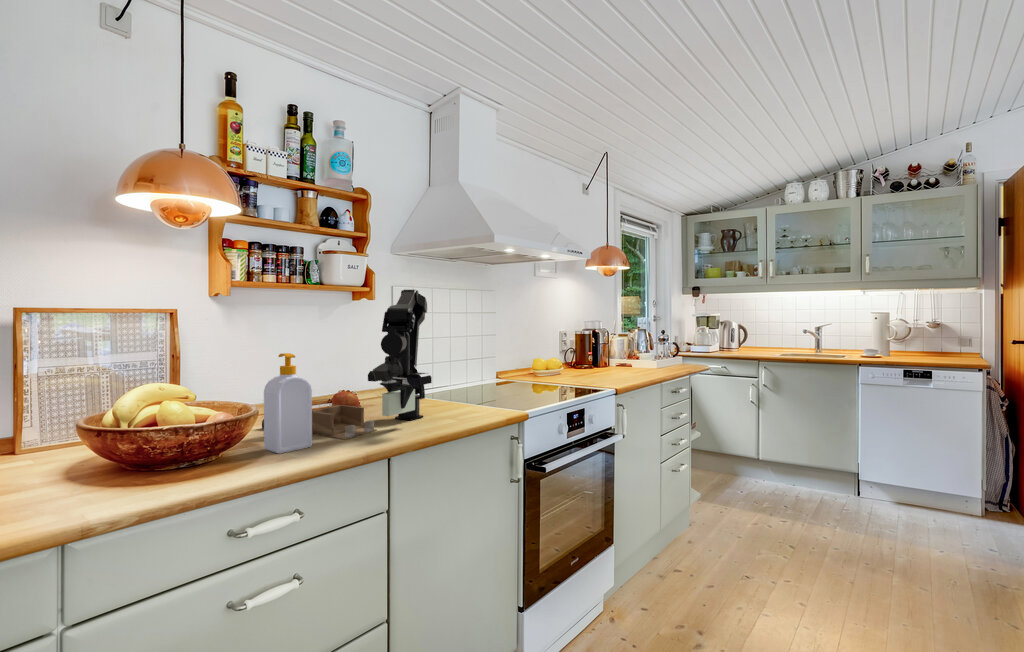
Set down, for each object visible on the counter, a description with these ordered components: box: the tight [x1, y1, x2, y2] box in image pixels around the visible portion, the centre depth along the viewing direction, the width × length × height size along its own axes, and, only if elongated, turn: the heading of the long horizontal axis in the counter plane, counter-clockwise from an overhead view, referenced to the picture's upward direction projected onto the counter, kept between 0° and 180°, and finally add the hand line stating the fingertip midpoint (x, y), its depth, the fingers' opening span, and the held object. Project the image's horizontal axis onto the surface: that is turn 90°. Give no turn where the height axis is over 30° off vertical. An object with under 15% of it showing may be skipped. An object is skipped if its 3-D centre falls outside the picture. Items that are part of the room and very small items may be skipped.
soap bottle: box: [263, 352, 313, 455], centre depth 128 cm, size 9×7×23 cm
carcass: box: [312, 405, 378, 441], centre depth 146 cm, size 12×14×6 cm
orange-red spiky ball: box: [331, 391, 360, 407], centre depth 167 cm, size 8×8×8 cm
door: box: [381, 389, 415, 417], centre depth 149 cm, size 11×2×6 cm, turn 152°
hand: (399, 407), depth 149 cm, fingers closed on door, 2 cm apart
